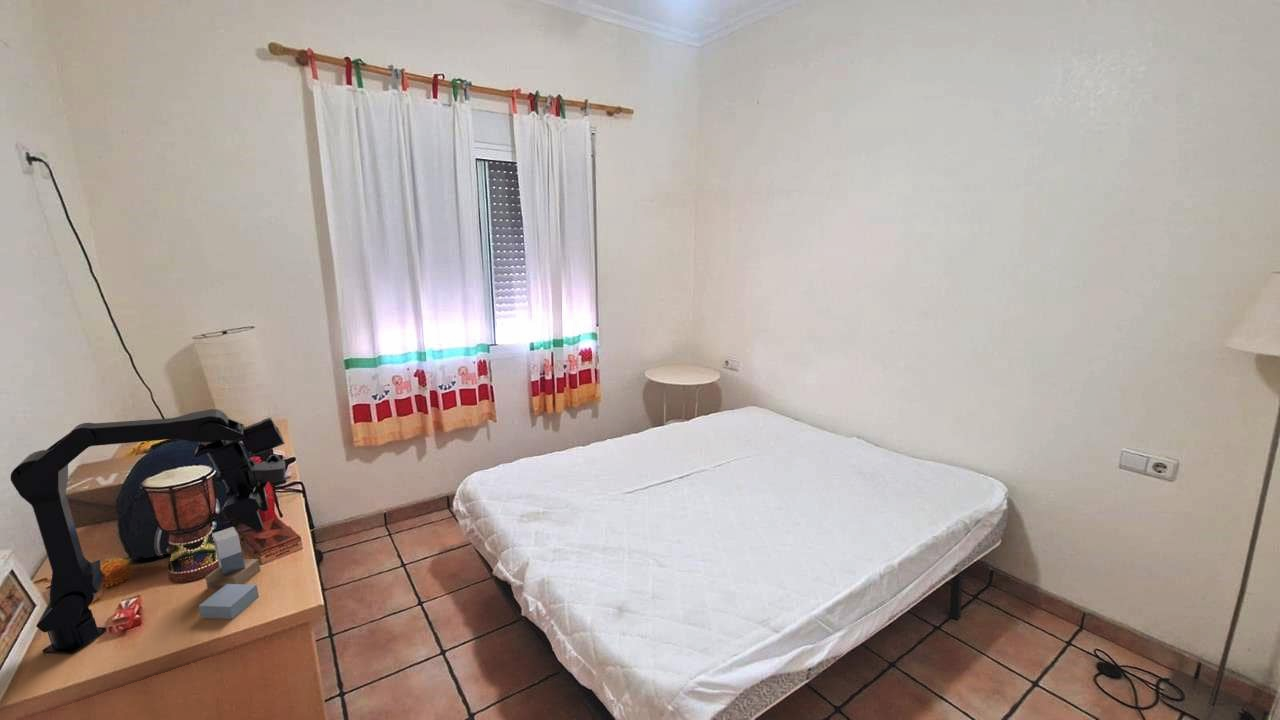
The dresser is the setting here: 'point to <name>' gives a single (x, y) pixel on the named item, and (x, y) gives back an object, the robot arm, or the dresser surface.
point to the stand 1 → (233, 575)
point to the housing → (228, 551)
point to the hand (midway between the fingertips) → (263, 520)
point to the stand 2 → (228, 601)
